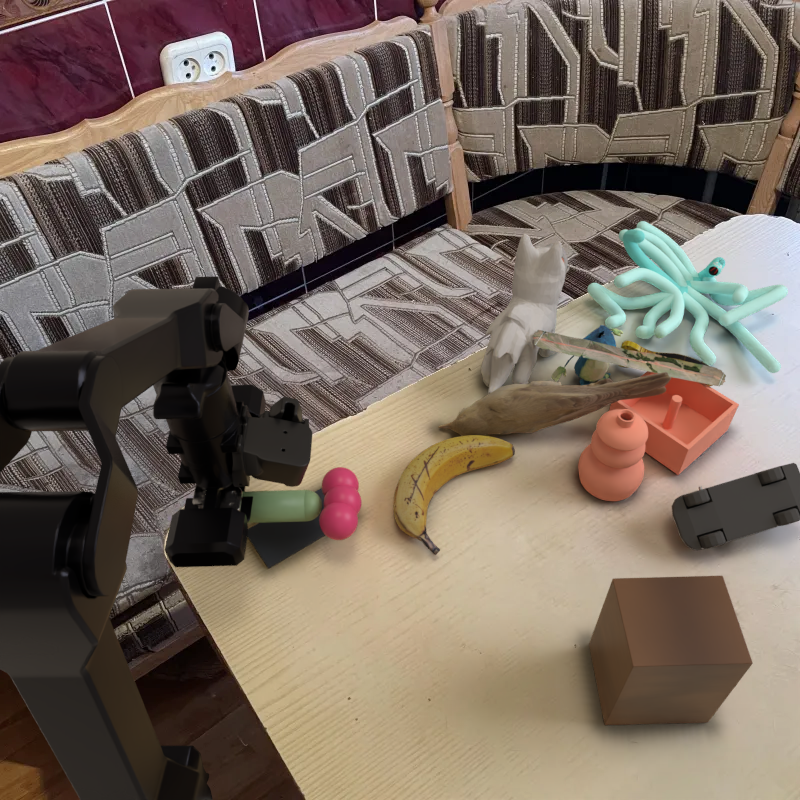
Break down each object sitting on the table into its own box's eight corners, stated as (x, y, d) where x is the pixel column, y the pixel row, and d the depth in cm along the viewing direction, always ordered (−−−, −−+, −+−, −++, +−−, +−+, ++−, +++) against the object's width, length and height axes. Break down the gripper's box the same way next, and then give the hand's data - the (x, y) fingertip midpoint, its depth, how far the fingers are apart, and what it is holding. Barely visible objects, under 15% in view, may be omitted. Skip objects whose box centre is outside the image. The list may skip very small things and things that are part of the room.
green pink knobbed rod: (204, 551, 71) (195, 530, 68) (216, 485, 76) (208, 463, 73) (361, 546, 71) (359, 525, 68) (363, 481, 76) (361, 459, 73)
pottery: (655, 384, 88) (675, 320, 80) (727, 430, 83) (756, 366, 75) (551, 467, 80) (564, 404, 72) (624, 523, 75) (646, 462, 68)
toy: (578, 320, 95) (588, 217, 84) (516, 423, 84) (518, 319, 73) (530, 308, 97) (534, 206, 87) (464, 405, 87) (459, 303, 76)
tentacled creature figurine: (629, 201, 84) (692, 174, 96) (554, 279, 94) (620, 246, 106) (786, 373, 80) (831, 322, 92) (690, 436, 90) (742, 383, 102)
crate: (604, 725, 62) (632, 666, 53) (588, 643, 67) (612, 578, 58) (708, 722, 62) (753, 663, 53) (685, 641, 67) (722, 575, 58)
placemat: (268, 569, 72) (268, 566, 72) (244, 533, 75) (244, 530, 75) (356, 517, 76) (356, 515, 76) (330, 485, 79) (330, 482, 79)
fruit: (433, 562, 72) (433, 545, 70) (368, 507, 77) (367, 489, 75) (533, 470, 80) (536, 452, 77) (469, 425, 84) (470, 406, 82)
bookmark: (533, 330, 82) (535, 327, 82) (722, 370, 83) (724, 367, 82) (532, 348, 81) (533, 345, 80) (725, 389, 81) (727, 386, 81)
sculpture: (665, 380, 81) (677, 410, 77) (446, 434, 87) (447, 465, 83) (657, 334, 78) (669, 364, 74) (429, 395, 84) (429, 425, 80)
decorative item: (613, 365, 90) (622, 342, 85) (615, 359, 90) (624, 336, 85) (709, 394, 87) (723, 373, 83) (710, 388, 87) (724, 366, 83)
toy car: (695, 556, 69) (675, 556, 74) (825, 516, 70) (798, 519, 75) (672, 495, 70) (655, 499, 75) (801, 456, 71) (775, 463, 76)
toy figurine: (570, 414, 85) (581, 366, 79) (542, 394, 87) (550, 346, 81) (636, 363, 90) (650, 315, 84) (608, 345, 92) (620, 297, 87)
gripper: (290, 506, 56) (313, 606, 68) (307, 336, 69) (323, 445, 80) (141, 510, 56) (189, 610, 68) (185, 339, 69) (219, 448, 80)
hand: (236, 521), depth 74 cm, fingers closed on green pink knobbed rod, 3 cm apart
